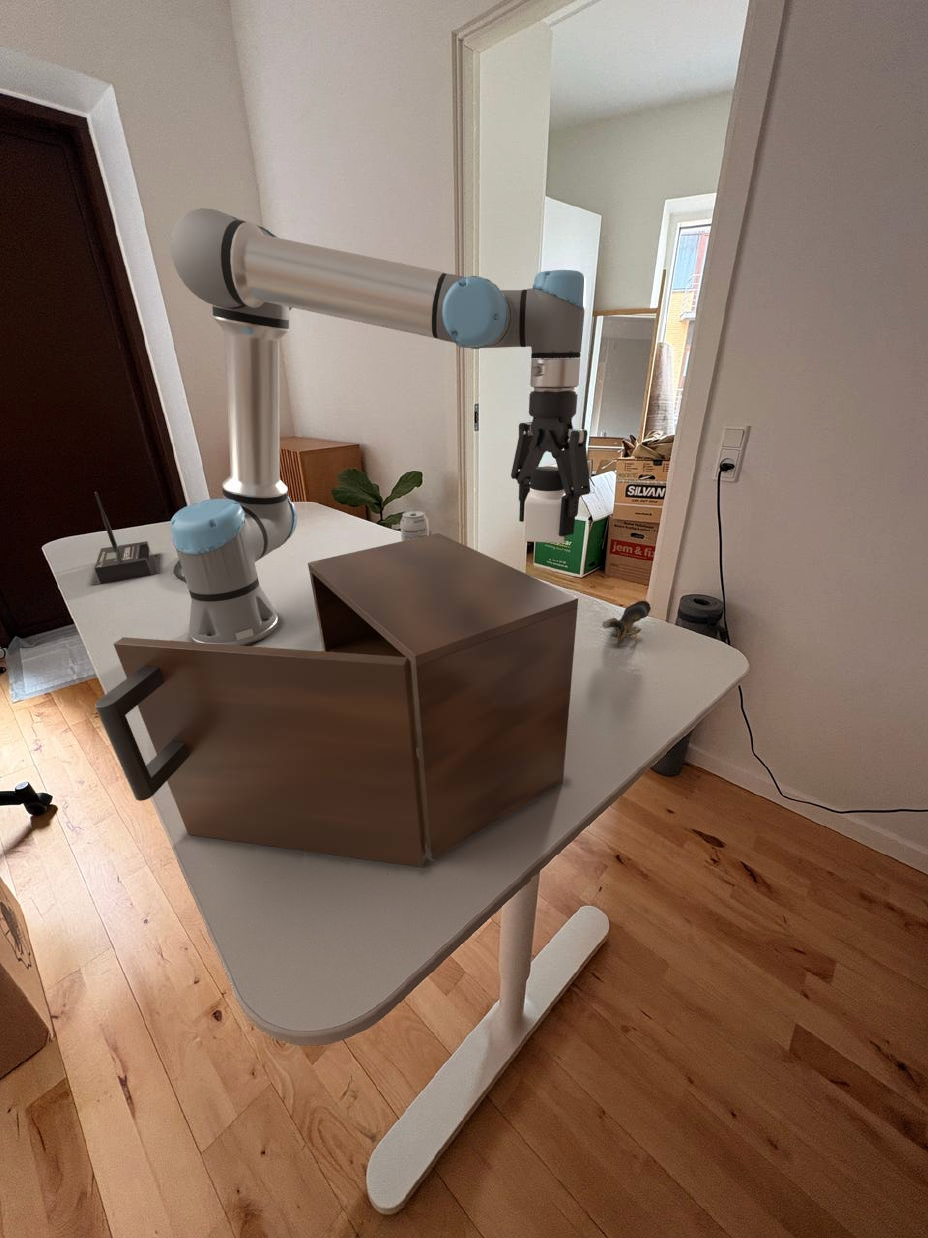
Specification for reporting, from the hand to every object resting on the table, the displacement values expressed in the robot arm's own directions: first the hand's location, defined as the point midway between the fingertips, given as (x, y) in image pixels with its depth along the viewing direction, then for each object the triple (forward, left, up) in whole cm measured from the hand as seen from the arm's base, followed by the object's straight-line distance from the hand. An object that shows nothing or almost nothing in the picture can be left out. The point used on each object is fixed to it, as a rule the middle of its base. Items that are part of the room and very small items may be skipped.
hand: (545, 527), depth 91 cm
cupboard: (+21, -36, -18) cm, 45 cm away
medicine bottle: (0, 0, -2) cm, 2 cm away
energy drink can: (-31, -10, -18) cm, 37 cm away
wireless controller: (-83, -64, -18) cm, 106 cm away
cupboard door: (+27, -57, -17) cm, 66 cm away
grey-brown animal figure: (+15, +6, -18) cm, 24 cm away
